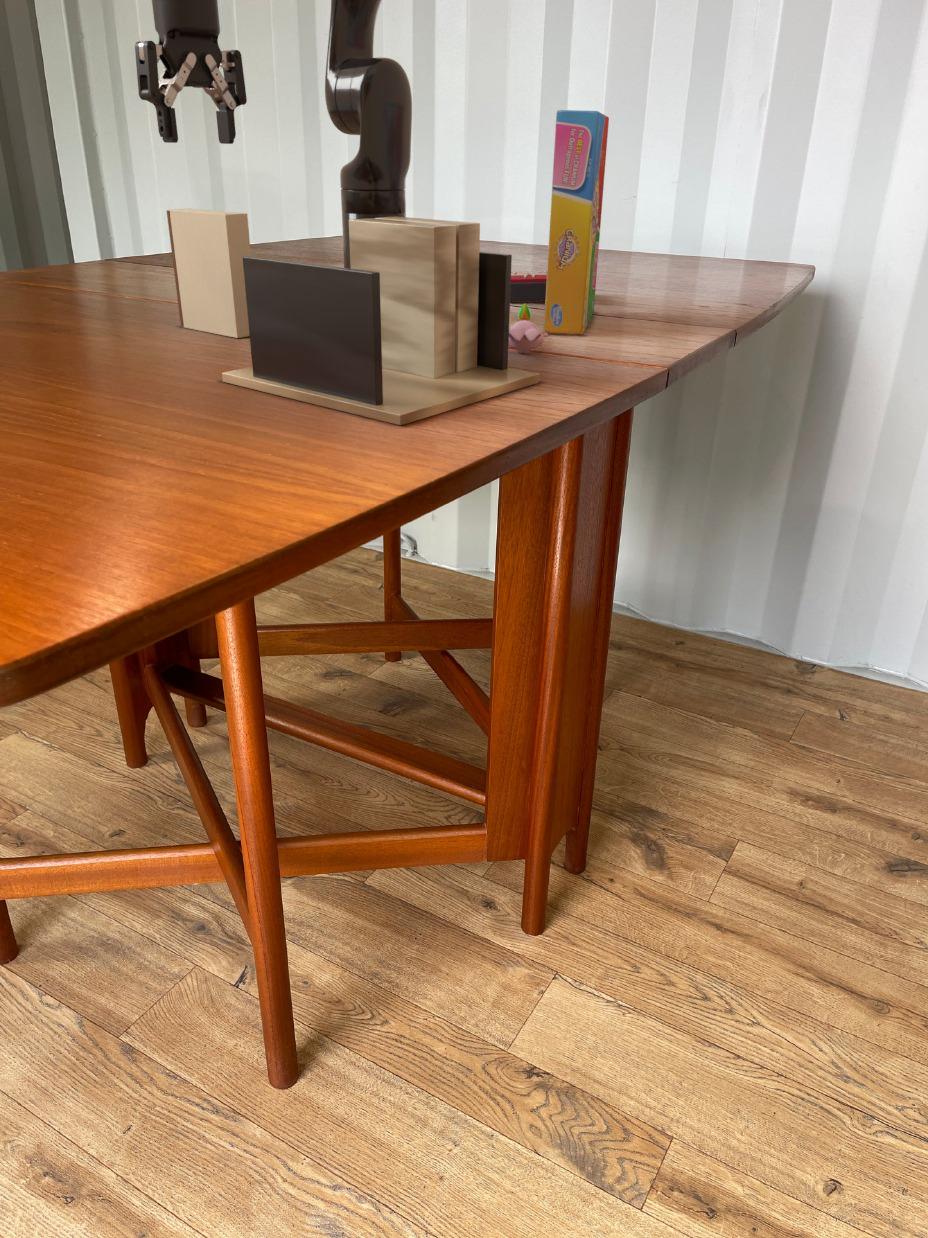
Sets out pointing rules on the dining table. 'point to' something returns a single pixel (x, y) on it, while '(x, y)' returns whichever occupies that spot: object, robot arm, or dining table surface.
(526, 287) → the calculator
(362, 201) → the robot arm
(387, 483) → the dining table surface
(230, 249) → the cream book
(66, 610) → the dining table surface
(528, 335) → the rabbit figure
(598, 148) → the game box
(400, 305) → the book rack
